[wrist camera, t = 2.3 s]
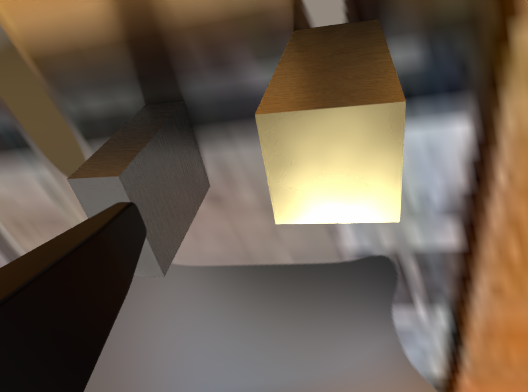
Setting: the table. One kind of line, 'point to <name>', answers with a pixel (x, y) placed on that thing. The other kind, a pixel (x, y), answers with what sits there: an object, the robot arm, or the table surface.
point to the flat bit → (149, 179)
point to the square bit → (334, 127)
